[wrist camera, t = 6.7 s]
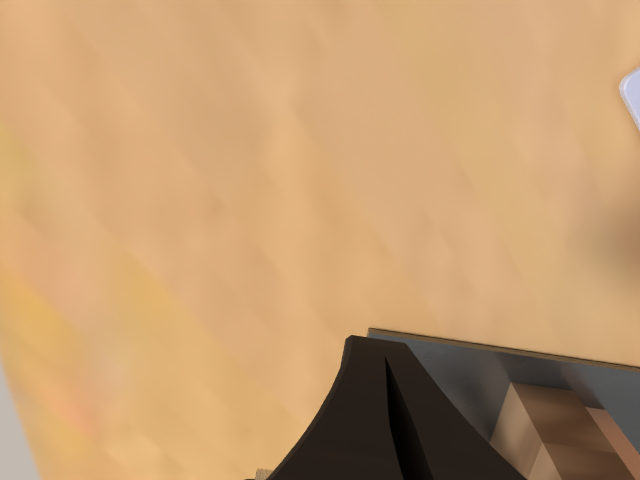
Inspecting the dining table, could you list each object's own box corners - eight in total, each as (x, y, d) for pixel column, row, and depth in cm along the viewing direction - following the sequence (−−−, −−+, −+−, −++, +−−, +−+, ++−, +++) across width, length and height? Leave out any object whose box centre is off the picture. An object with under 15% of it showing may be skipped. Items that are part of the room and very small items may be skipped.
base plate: (696, 375, 22) (701, 381, 22) (618, 527, 26) (622, 534, 26) (368, 328, 22) (369, 332, 22) (335, 487, 26) (335, 493, 25)
